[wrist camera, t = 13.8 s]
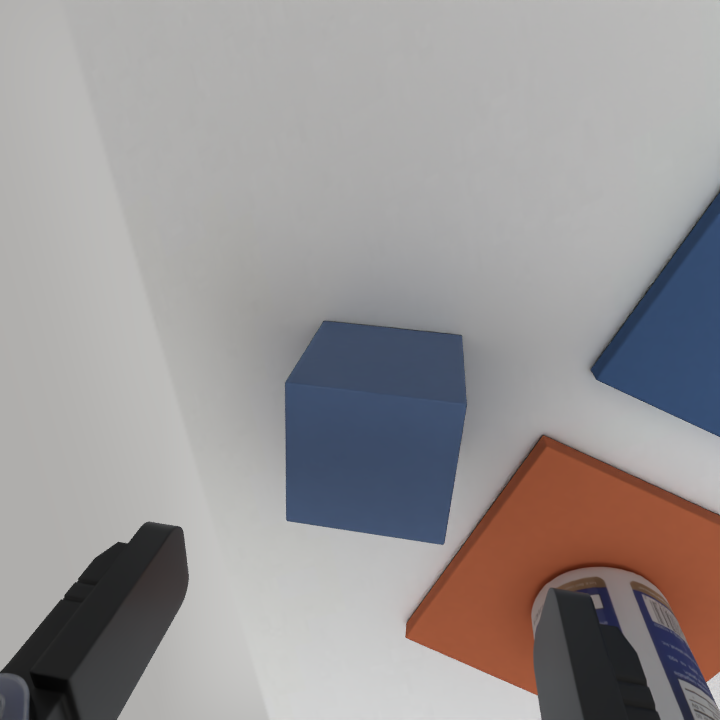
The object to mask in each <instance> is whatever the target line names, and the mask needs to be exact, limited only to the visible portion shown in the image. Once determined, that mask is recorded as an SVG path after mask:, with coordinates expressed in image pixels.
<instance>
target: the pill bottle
mask: <svg viewBox="0 0 720 720" xmlns="http://www.w3.org/2000/svg"><path fill="white" fill-rule="evenodd" d="M549 588H558V589H564V590H570V591H576V592H583V593H588V594H589V595H590V596H591V598H592V600H593V603H594V606H595V609H596V613H597V616H598V619H599V623H600V624H604V625H610V626H616V627H618V628H619V629H620V631H621V632H622V633H623V635H624V636H625V637H626V639H627V640H628V641H629V643H630V644H631V645H632V647H633V648H634V649H635V651H636V652H637V654H638V657H639V660H640V663H641V665H642V668H643V671H644V674H645V677H646V679H647V686H648V687H649V688H650V691H651V694H652V696H653V699H654V702H655V705H656V706H655V709H656V711H658V713H659V716H660V719H661V720H720V711H719V709H718V707H717V705H716V703H715V701H714V698H713V696H712V694H711V692H710V690H709V688H708V686H707V683H706V681H705V679H704V677H703V675H702V673H701V670H700V668H699V666H698V664H697V662H696V660H695V658H694V656H693V654H692V651H691V649H690V647H689V645H688V643H687V640H686V638H685V636H684V634H683V632H682V630H681V628H680V625H679V623H678V621H677V619H676V617H675V615H674V613H673V611H672V609H671V607H670V605H669V603H668V601H667V600H666V598H665V597H664V595H663V594H662V593H661V592H660V590H659V589H658V588H657V587H656V586H655V585H653V584H652V583H651V582H649V581H648V580H646V579H645V578H643V577H642V576H640V575H637V574H635V573H633V572H629V571H625V570H622V569H617V568H611V567H587V568H580V569H576V570H572V571H569V572H566V573H564V574H561V575H559V576H557V577H556V578H554V579H553V580H552V581H550V582H549V583H547V584H546V585H545V586H544V587H543V588H542V590H541V591H540V592H539V594H538V595H537V597H536V599H535V601H534V604H533V607H532V613H531V619H532V628H533V635H534V639H535V635H536V631H537V627H538V624H539V620H540V617H541V613H542V610H543V606H544V602H545V599H546V595H547V592H548V590H549Z"/></svg>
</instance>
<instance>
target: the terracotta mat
mask: <svg viewBox="0 0 720 720" xmlns="http://www.w3.org/2000/svg"><path fill="white" fill-rule="evenodd" d="M587 567H611V568H617V569H622V570H625V571H629V572H633V573H635V574H637V575H640V576H642V577H643V578H645V579H646V580H648V581H649V582H651V583H652V584H653V585H655V586H656V587H657V588H658V589H659V590H660V592H661V593H662V594H663V595H664V597H665V598H666V600H667V601H668V603H669V605H670V607H671V609H672V611H673V613H674V615H675V617H676V619H677V621H678V623H679V625H680V628H681V630H682V632H683V634H684V636H685V638H686V640H687V643H688V645H689V647H690V649H691V651H692V654H693V656H694V658H695V660H696V662H697V664H698V666H699V668H700V670H701V673H702V675H703V677H704V679H705V681H706V682H707V681H709V680H710V679H711V678H712V677H714V676H715V675H716V674H717V673H719V672H720V516H719V515H717V514H715V513H713V512H710V511H708V510H706V509H704V508H702V507H699V506H697V505H695V504H693V503H691V502H689V501H686V500H684V499H682V498H680V497H678V496H675V495H673V494H671V493H669V492H667V491H664V490H662V489H660V488H658V487H656V486H654V485H651V484H649V483H647V482H645V481H643V480H640V479H638V478H636V477H634V476H632V475H629V474H627V473H625V472H623V471H621V470H619V469H616V468H614V467H612V466H610V465H608V464H605V463H603V462H601V461H599V460H597V459H595V458H592V457H590V456H588V455H586V454H584V453H581V452H579V451H577V450H575V449H573V448H570V447H568V446H566V445H564V444H562V443H560V442H557V441H555V440H553V439H551V438H549V437H546V436H544V435H543V436H542V437H541V439H540V440H539V442H538V443H537V444H536V446H535V447H534V448H533V450H532V451H531V453H530V454H529V455H528V457H527V458H526V459H525V461H524V462H523V464H522V465H521V466H520V468H519V469H518V470H517V472H516V473H515V475H514V476H513V477H512V479H511V480H510V482H509V483H508V484H507V486H506V487H505V488H504V490H503V491H502V493H501V494H500V495H499V497H498V498H497V499H496V501H495V502H494V504H493V505H492V506H491V508H490V509H489V510H488V512H487V513H486V515H485V516H484V517H483V519H482V520H481V521H480V523H479V524H478V526H477V527H476V528H475V530H474V531H473V532H472V534H471V535H470V537H469V538H468V539H467V541H466V542H465V543H464V545H463V546H462V548H461V549H460V550H459V552H458V553H457V554H456V556H455V557H454V559H453V560H452V561H451V563H450V564H449V565H448V567H447V568H446V570H445V571H444V572H443V574H442V575H441V577H440V578H439V579H438V581H437V582H436V583H435V585H434V586H433V588H432V589H431V590H430V592H429V593H428V594H427V596H426V597H425V599H424V600H423V601H422V603H421V604H420V605H419V607H418V608H417V610H416V611H415V612H414V614H413V615H412V616H411V618H410V619H409V621H408V622H407V624H406V636H405V637H406V638H408V639H410V640H412V641H414V642H417V643H419V644H421V645H424V646H426V647H428V648H430V649H433V650H435V651H437V652H440V653H442V654H444V655H446V656H449V657H451V658H453V659H456V660H458V661H460V662H462V663H465V664H467V665H469V666H472V667H474V668H476V669H479V670H481V671H483V672H485V673H488V674H490V675H492V676H495V677H497V678H499V679H501V680H504V681H506V682H508V683H511V684H513V685H515V686H517V687H520V688H522V689H524V690H527V691H529V692H531V693H533V694H536V695H538V692H537V686H536V679H535V673H534V663H533V648H534V635H533V628H532V619H531V613H532V607H533V604H534V601H535V599H536V597H537V595H538V594H539V592H540V591H541V590H542V588H543V587H544V586H545V585H546V584H547V583H549V582H550V581H552V580H553V579H554V578H556V577H557V576H559V575H561V574H564V573H566V572H569V571H572V570H576V569H580V568H587Z"/></svg>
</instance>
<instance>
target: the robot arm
mask: <svg viewBox="0 0 720 720" xmlns="http://www.w3.org/2000/svg"><path fill="white" fill-rule="evenodd" d="M188 580H189V574H188V566H187V557H186V549H185V541H184V534H183V530H182V528H181V527H178V526H173V525H166V524H160V523H154V522H146V523H145V524H143V525H142V526H141V528H140V529H139V530H138V531H137V533H136V534H135V535H134V536H133V538H132V539H131V541H130V542H129V543H128V544H127V543H121V542H117V543H116V544H115V545H113V546H112V547H110V548H109V549H107V550H106V551H105V552H103V553H102V554H100V555H99V556H97V557H96V558H95V559H94V560H93V561H92V563H91V564H90V565H89V566H88V568H87V569H86V570H85V571H84V572H83V574H82V575H81V576H80V577H79V578H78V582H77V583H76V582H75V583H74V584H73V586H72V587H71V588H70V589H69V590H68V592H67V593H66V594H65V597H64V599H63V600H60V601H59V603H58V604H57V605H56V606H55V607H54V609H53V610H52V611H51V612H50V613H49V615H48V616H47V617H46V618H45V619H44V621H43V622H42V623H41V624H40V625H39V627H38V628H37V629H36V630H35V632H34V633H33V634H32V635H31V636H30V638H29V639H28V640H27V641H26V642H25V644H24V645H23V646H22V647H21V649H20V650H19V651H18V652H17V653H16V655H15V656H14V657H13V658H12V659H11V661H10V662H9V663H8V664H7V665H6V666H5V668H4V669H3V670H2V671H1V672H0V720H117V718H118V716H119V715H120V713H121V711H122V709H123V708H124V706H125V704H126V702H127V700H128V699H129V697H130V695H131V693H132V691H133V690H134V688H135V686H136V685H137V683H138V681H139V679H140V677H141V676H142V674H143V672H144V670H145V669H146V667H147V665H148V663H149V662H150V660H151V658H152V656H153V654H154V653H155V651H156V649H157V647H158V646H159V644H160V642H161V640H162V638H163V636H164V635H165V633H166V631H167V630H168V628H169V626H170V624H171V622H172V621H173V619H174V617H175V615H176V614H177V612H178V610H179V608H180V607H181V605H182V602H183V600H184V598H185V595H186V591H187V587H188ZM533 663H534V673H535V679H536V686H537V692H538V699H539V705H540V712H541V718H542V720H661V719H660V716H659V713H658V711H656V709H655V706H656V705H655V702H654V699H653V696H652V694H651V691H650V688H649V687H648V686H647V679H646V677H645V674H644V671H643V668H642V665H641V663H640V660H639V657H638V654H637V652H636V651H635V649H634V648H633V647H632V645H631V644H630V643H629V641H628V640H627V639H626V637H625V636H624V635H623V633H622V632H621V631H620V629H619V628H618V627H616V626H610V625H604V624H600V623H599V619H598V616H597V613H596V609H595V606H594V603H593V600H592V598H591V596H590V595H589V594H588V593H583V592H576V591H570V590H564V589H558V588H549V590H548V592H547V595H546V599H545V602H544V606H543V610H542V613H541V617H540V620H539V624H538V627H537V631H536V635H535V639H534V648H533Z"/></svg>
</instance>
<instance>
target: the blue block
mask: <svg viewBox="0 0 720 720" xmlns="http://www.w3.org/2000/svg"><path fill="white" fill-rule="evenodd" d="M466 407H467V400H466V385H465V371H464V357H463V342H462V336H461V335H453V334H443V333H434V332H425V331H415V330H406V329H396V328H387V327H377V326H368V325H359V324H349V323H340V322H330V321H323V323H322V325H321V326H320V328H319V329H318V331H317V333H316V334H315V336H314V337H313V339H312V340H311V342H310V344H309V345H308V347H307V348H306V350H305V352H304V353H303V355H302V356H301V358H300V360H299V361H298V363H297V364H296V366H295V368H294V369H293V371H292V372H291V374H290V376H289V377H288V379H287V380H286V382H285V429H286V520H287V521H290V522H297V523H303V524H310V525H317V526H323V527H330V528H336V529H343V530H349V531H356V532H362V533H369V534H375V535H382V536H388V537H395V538H402V539H408V540H415V541H421V542H428V543H434V544H441V545H443V544H444V542H445V536H446V530H447V524H448V518H449V512H450V506H451V499H452V493H453V487H454V481H455V475H456V469H457V463H458V456H459V450H460V444H461V438H462V432H463V426H464V420H465V413H466Z"/></svg>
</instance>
